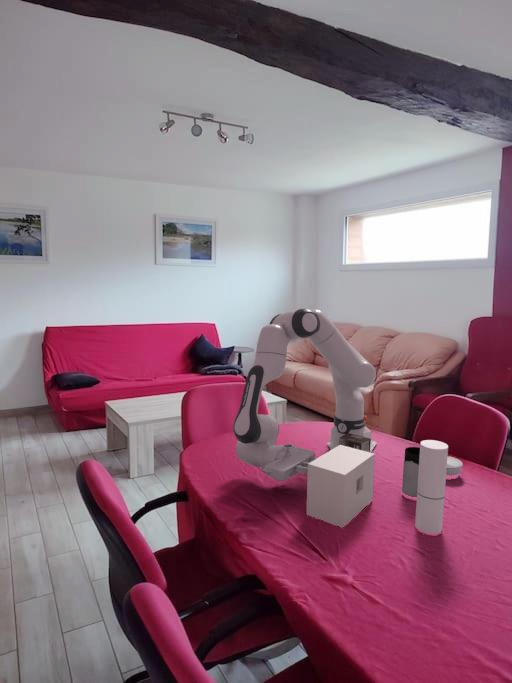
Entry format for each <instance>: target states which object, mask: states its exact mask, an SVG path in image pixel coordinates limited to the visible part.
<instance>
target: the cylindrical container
mask: <svg viewBox="0 0 512 683" xmlns="http://www.w3.org/2000/svg"><path fill="white" fill-rule="evenodd" d="M419 448H420V457H419V473H418V488H417V501H416V508H415V521H414V522H415V523H414V527H415V526H416V527H417V528H418V529H419V530H420V531H423V532H425V533H430V534H436V533H439V532H441V531H442V532H443V524H444V523H443V521H444V509H445V507H444V506H445V495H446V494H445V493H446V485H447V484H446V483H447V480H446V470H447V456H448V455H449V454H448V453H449V445H448V444H447V443H445V442H443V441H439V440H435V439H426V440H425V439H424V440H421V441H420V444H419Z"/></svg>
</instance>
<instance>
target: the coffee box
mask: <svg viewBox="0 0 512 683" xmlns="http://www.w3.org/2000/svg"><path fill="white" fill-rule="evenodd" d="M371 440H372V438H371V439H369V438H366V437H362V436H358V435H354V434H350V433H347V434H345V435H343V436H342V437H339V445H343V446H347V447H351V448H355V449H359V450H362V451H366V452H370V442H371Z"/></svg>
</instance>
